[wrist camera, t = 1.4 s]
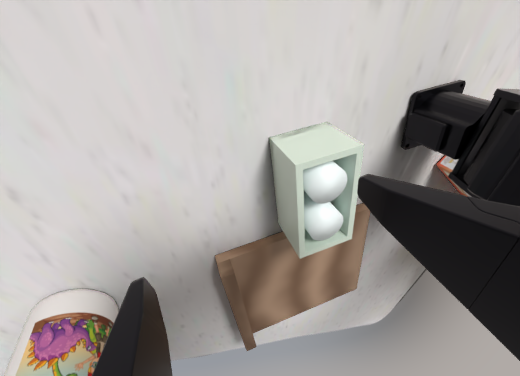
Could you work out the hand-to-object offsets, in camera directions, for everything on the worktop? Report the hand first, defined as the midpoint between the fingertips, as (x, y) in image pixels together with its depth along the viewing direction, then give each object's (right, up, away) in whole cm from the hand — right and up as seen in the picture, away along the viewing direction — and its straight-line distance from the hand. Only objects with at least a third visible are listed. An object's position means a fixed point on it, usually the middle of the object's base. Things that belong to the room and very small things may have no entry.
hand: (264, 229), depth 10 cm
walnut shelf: (+5, -10, +27) cm, 29 cm away
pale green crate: (+4, +3, +18) cm, 18 cm away
